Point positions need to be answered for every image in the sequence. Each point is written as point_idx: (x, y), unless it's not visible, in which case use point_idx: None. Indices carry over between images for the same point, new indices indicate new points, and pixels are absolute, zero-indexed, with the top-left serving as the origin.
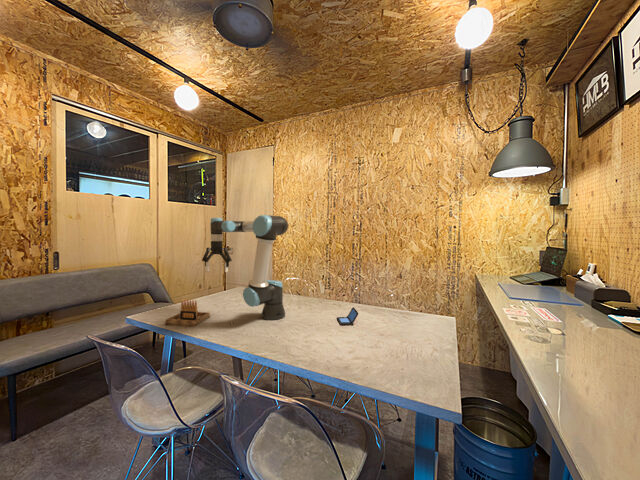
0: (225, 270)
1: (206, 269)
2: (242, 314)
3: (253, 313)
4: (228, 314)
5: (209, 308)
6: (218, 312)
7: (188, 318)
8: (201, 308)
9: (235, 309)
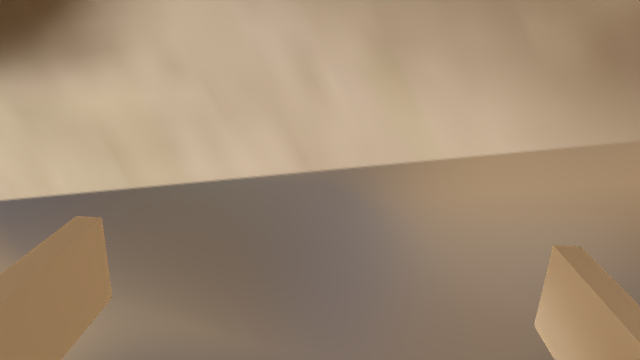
0: (61, 235)
1: (594, 272)
2: (83, 20)
3: (14, 56)
4: (193, 7)
5: (425, 143)
6: (300, 49)
7: None
8: (492, 137)
9: (204, 139)
